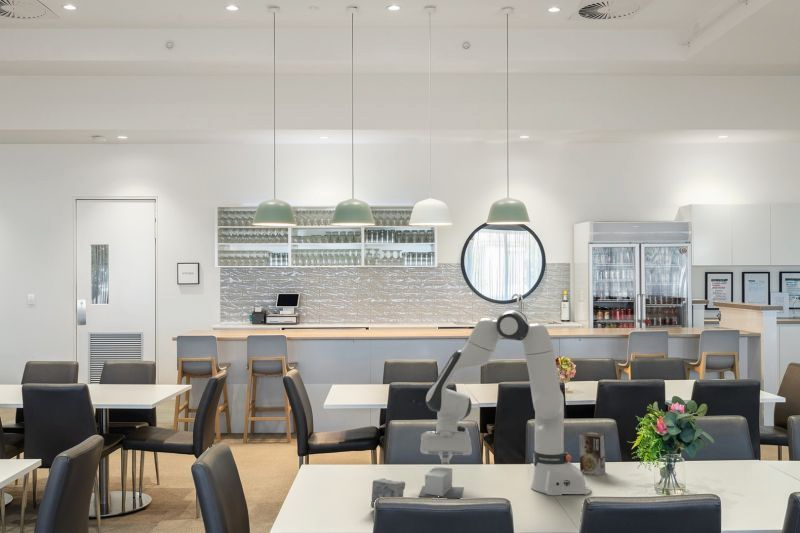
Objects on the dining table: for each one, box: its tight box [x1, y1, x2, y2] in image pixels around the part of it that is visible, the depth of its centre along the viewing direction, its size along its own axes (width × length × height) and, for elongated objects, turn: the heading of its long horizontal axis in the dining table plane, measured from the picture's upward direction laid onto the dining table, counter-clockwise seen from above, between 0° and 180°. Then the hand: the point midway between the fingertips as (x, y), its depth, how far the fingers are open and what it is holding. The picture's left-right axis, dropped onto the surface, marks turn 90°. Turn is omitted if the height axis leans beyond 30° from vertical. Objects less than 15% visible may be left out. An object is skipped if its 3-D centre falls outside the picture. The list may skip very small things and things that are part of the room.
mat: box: [418, 485, 464, 499], centre depth 269 cm, size 16×13×1 cm
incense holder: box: [370, 477, 406, 509], centre depth 250 cm, size 10×8×10 cm
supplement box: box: [424, 466, 453, 496], centre depth 270 cm, size 7×7×13 cm
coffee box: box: [578, 431, 606, 476], centre depth 295 cm, size 9×6×16 cm
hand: (445, 463), depth 274 cm, fingers closed
